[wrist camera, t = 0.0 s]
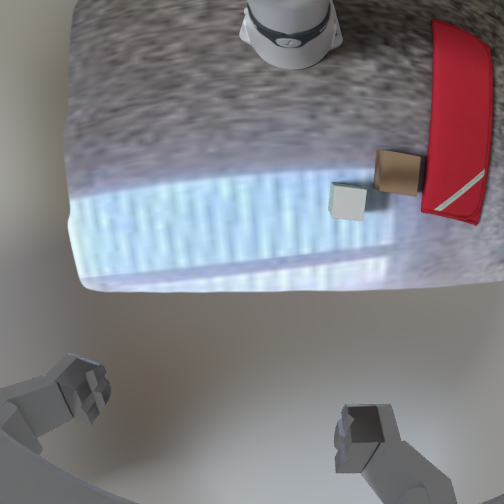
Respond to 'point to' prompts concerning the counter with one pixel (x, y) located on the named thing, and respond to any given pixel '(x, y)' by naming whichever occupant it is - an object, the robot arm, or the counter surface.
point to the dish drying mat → (458, 125)
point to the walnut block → (396, 172)
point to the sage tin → (347, 202)
